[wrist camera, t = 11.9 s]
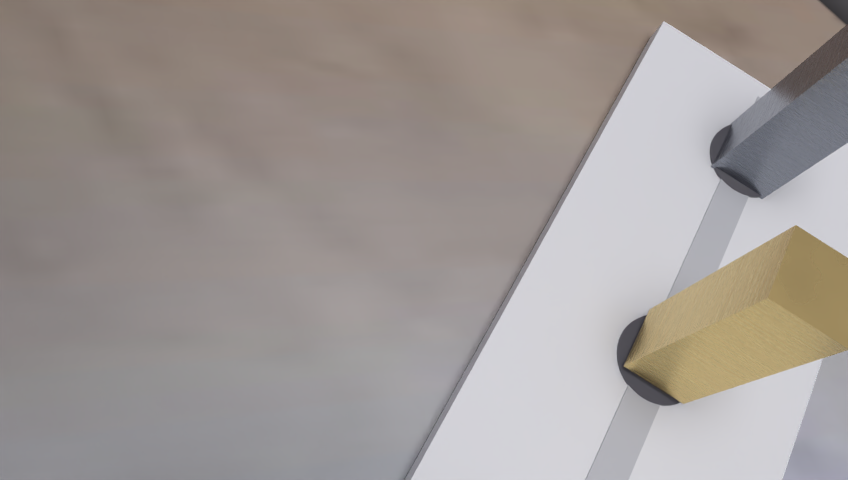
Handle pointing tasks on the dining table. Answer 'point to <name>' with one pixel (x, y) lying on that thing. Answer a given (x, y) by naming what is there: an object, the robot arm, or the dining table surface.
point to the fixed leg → (791, 122)
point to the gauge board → (636, 299)
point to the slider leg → (747, 319)
